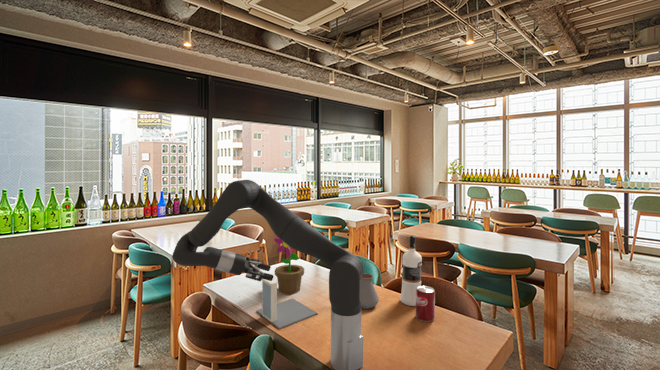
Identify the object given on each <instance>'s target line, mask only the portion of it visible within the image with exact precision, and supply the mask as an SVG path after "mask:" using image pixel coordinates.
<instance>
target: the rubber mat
mask: <svg viewBox="0 0 660 370" xmlns="http://www.w3.org/2000/svg"><path fill="white" fill-rule="evenodd" d="M256 313H258V315H260V316H261V317H262V318H264V319H265V320H267V321H269V320H268V319H267V318H265V317H264V316H263V307H262V308H260V309H257V310H256ZM317 315H318V312H317V311H315V310H313V309H312V308H310V307H308V306H306V305H305V304H303V303H302V302H299V300H296V299H295V298H292V297H291V298H290V299H287V300H283V301H281V302H277V320H276V321H273V322H271V321H269V323H270V324H272V325H274V326H275V327H276V328H277V329H278V330H281V329H284V328H286V327H289V326H291V325H294V324H297V323H299V322H302V321H304V320H307V319H309V318H311V317H314V316H317Z"/></svg>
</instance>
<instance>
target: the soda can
mask: <svg viewBox="0 0 660 370" xmlns="http://www.w3.org/2000/svg"><path fill="white" fill-rule="evenodd" d="M435 304H436V291H435V289H434V287H431V286H427V285H421V286H419V287H417V288H416V306H415V317H416V319H417V320H419V321H420V322H423V323H424V322H425V323H430V322H432V321H434V320H435V308H436V305H435Z"/></svg>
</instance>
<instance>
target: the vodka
mask: <svg viewBox="0 0 660 370" xmlns="http://www.w3.org/2000/svg"><path fill="white" fill-rule="evenodd" d="M416 240H417V239H416V235H410V236H409V250H407V251H405V252H404V253H403V255H402V261H401V262H402V276H401V277H402V278H401V293H400V299H399V300H400V302H401V303H403V304H404V305H405V306H407V307H416V288H417V287H419V286H422V265H423V263H422V261H423V257H422V255H421V254H420V253H419V252H418V251H416Z"/></svg>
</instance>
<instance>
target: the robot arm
mask: <svg viewBox="0 0 660 370" xmlns="http://www.w3.org/2000/svg"><path fill="white" fill-rule="evenodd" d="M245 208H250V209H251V210H253V211H255V212H256V213H258V214H259V215H261V216H262V217H263V218H264V219H265V221H266V222H267V224H268V225H269V227H270V229H271V230H272V232H273V233H274V235H275V236H276V238H280V239H281V240H282V241H283V242H285V243H286V244H287V245H289V248H290V247H291V248H290V249H292V248H293V249H292V250H295V251H297V252H300V253H301V254H305V255H308V256H311V257H313V258H315V259H317V260H319V261H321V262H322V263H323V264H325V265H326V266H327V267H328V268H330V269H329V273H328V274H329V275H328V289H329V290H328V295H329V296H328V298H329V303H330V366H331V368H333V370H359V369H361V368H363V367H364V336H363V334H362V308H361V300H360V280H361V278H362V276H363V274H365V273H364V271H365V269H364V268H365V266H364V264H363V262H362V261H361V259H360V258H359V257H358V256H357V255H355V254H354V253H351V252H350V251H348V250H346V249H344V248H343V247H342V246H340V245H338V244H336V243H335V242H333V241H332V240H331V239H329V238H328V237H327V236H325V235H324V234H323V233H322V232H320V231H319V230H317V229H316V228H314V227H313V226H312V225H311V224H310V223H308V222H307V221H305V220H304V219H303V218H302V217H300V216H299V215H298V214H295V213H294V212H293V211H291V210H290V209H289V208H288V207H286V206H284V205H283V204H282V203H280V202H279V201H277V200H276V199H275V198H273V197H272V196H271V195H270V194H269V193H268V192H267V191H266V190H265V189H264V188H262V187H261V186H260V185H259V184H258V183H256V182H255V181H254V180H251V179H242V180H241V179H239V180H233V181H232V182H230V183H229V184H228V185H227V186H226V187H225V188H224V190H223V192H222V193H221V195H220V196H219V197H218V199H217V200H216V202H215V203H214V205H213V206H212V207H211V209H210V210H209V211H208V212H207V213H206V215H204V217H203V218H202V219H201V220H200V221H198V223H196V225H195V226H194V227H193V228H192V229H191V230H190V231H188V232H186V233H185V234H184V235H182V236H181V237H180V239H178V241H177V242H176V246H175V247H174V249H173V253H172V254H171V255H172V256H171V257H172V260H173V261H174V262H175V263H176V264H177V265H179V266H183V267H207V268H211V269H215V270H217V271H220V272H224V273H227V274H233V275H236V276H241V275H242V273H244V274H246V275H245V278H246V279H250V280H254V281H258V282H262V279H265V280H269V281H272V280H273V279H274V276H275V275H273V274H271V273H267V272H269V271H271V265H269V264H265V263H262V261H261V260H260V259H257V258H253V257H249V256H246V255H244V254H240V253H236V252H234V251H231V250H230V251H229V250H225V249H220V248H216V247H214V246H213V247H212V246H207V247H205V249H204V250H203V251H197V250H198V248H199V247H200V248H201V247H203V246H206V245H207V244H208V243H210V241H211V240H212V239H213V238H214V237H215V236H216V235H217V234H218V233H219V232H220V230H221V228H222V226H223V225H224V223H225V221H226V220H227V219H228V218H229V217H230V216H231V215H233V214H235V213H236V212H237V211H239V210H241V209H245ZM263 271H265V272H263Z"/></svg>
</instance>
